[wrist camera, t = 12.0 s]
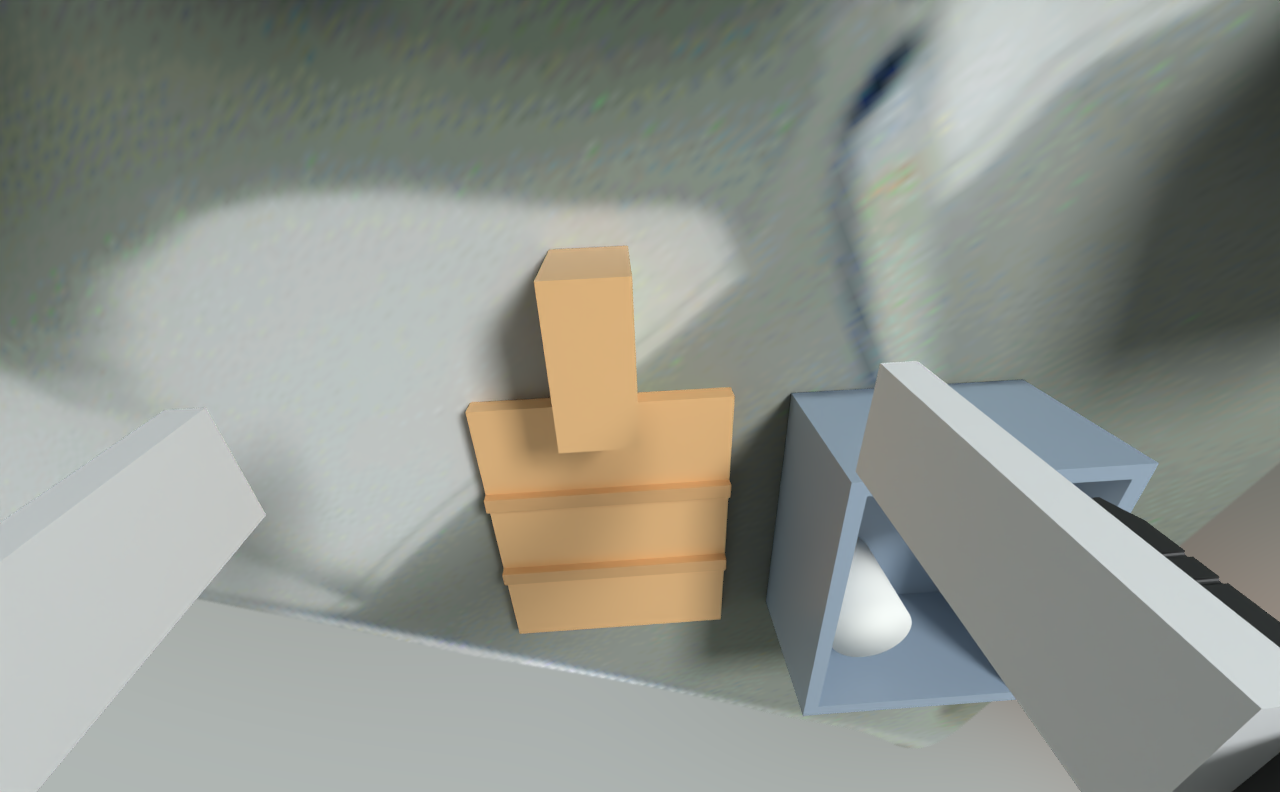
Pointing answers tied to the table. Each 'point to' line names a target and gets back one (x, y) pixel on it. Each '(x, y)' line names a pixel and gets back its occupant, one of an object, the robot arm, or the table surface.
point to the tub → (902, 547)
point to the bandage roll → (869, 609)
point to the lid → (604, 468)
